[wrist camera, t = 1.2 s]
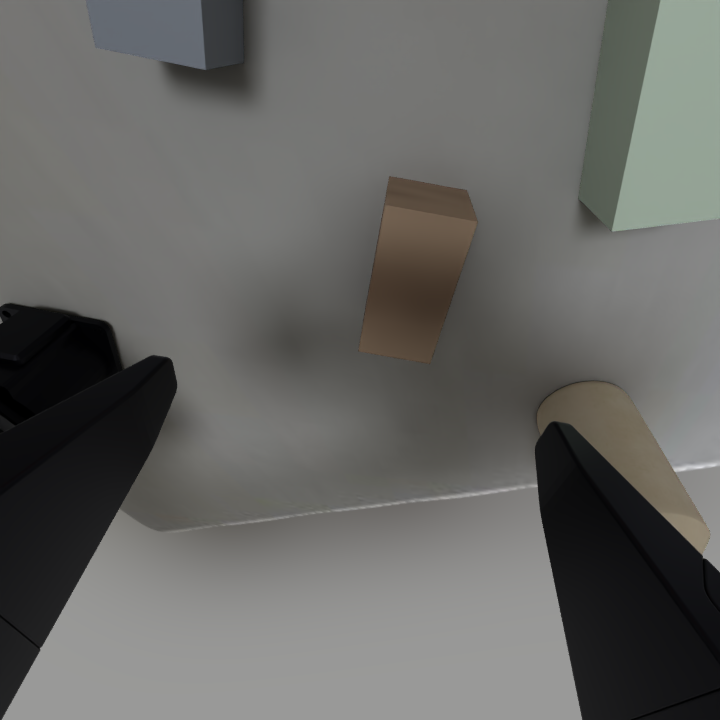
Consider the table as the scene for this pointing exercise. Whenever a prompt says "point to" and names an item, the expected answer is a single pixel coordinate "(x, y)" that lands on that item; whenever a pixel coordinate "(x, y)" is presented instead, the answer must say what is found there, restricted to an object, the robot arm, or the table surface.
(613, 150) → the sage block
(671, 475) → the candle
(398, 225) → the walnut block
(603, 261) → the table surface
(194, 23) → the charcoal block
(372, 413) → the table surface
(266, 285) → the table surface
